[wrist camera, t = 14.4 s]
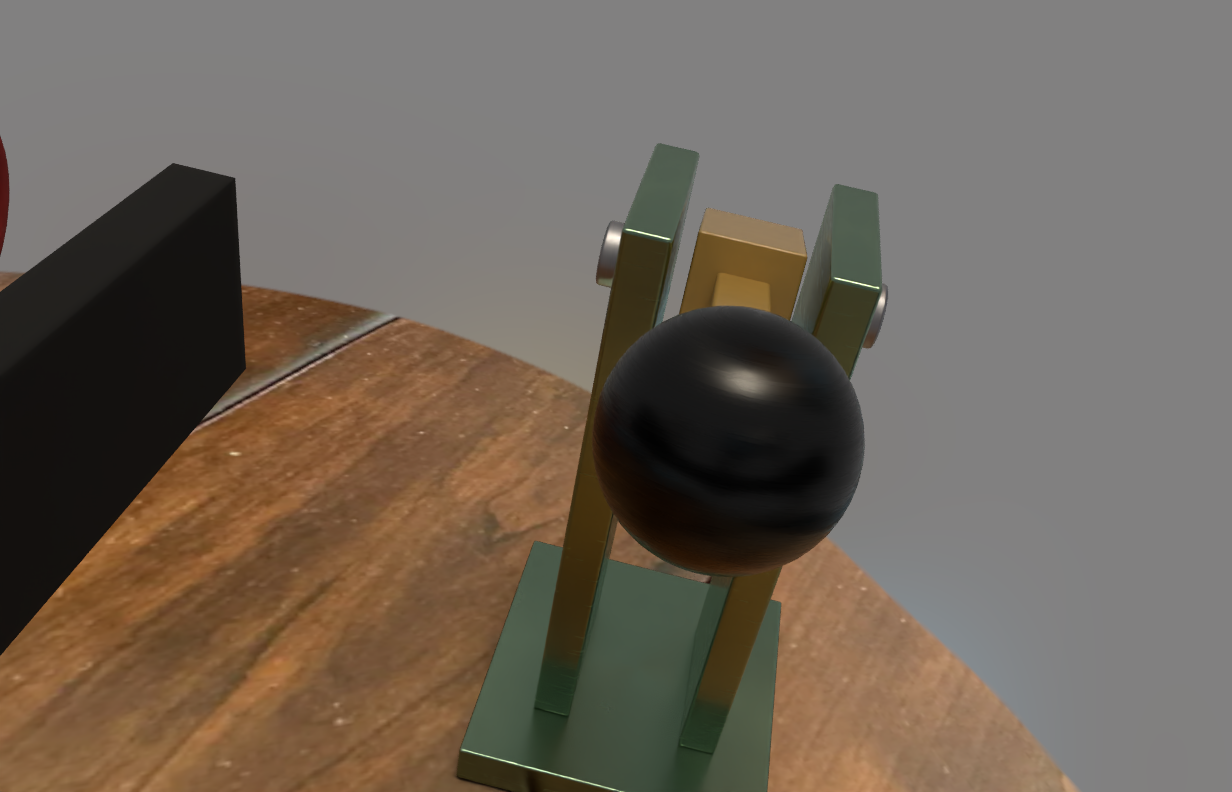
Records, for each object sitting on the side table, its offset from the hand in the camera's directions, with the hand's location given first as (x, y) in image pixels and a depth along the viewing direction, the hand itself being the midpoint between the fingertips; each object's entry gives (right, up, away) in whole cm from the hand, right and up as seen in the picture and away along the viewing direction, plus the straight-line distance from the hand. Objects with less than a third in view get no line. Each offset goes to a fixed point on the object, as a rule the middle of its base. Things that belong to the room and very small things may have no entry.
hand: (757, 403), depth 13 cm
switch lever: (0, -1, +6) cm, 6 cm away
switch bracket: (-1, -9, +18) cm, 20 cm away
